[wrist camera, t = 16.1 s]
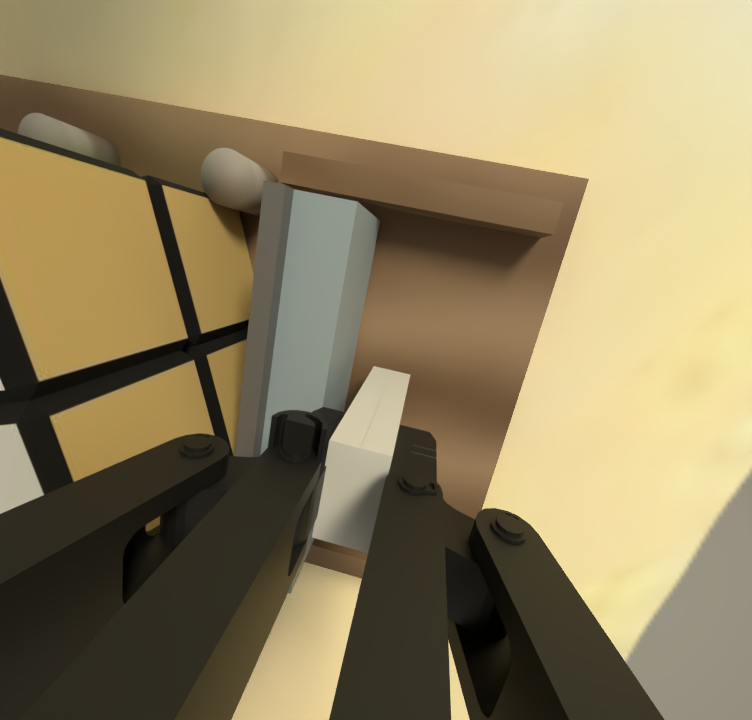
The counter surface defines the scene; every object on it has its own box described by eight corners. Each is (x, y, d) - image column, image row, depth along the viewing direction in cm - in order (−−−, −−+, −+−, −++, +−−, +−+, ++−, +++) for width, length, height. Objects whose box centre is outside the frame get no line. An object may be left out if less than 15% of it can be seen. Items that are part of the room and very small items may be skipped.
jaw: (320, 208, 14) (263, 180, 10) (380, 220, 14) (352, 197, 9) (277, 502, 18) (220, 588, 13) (324, 516, 18) (284, 607, 13)
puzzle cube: (108, 445, 19) (-221, 627, 9) (39, 243, 17) (-484, 212, 7) (292, 428, 17) (113, 633, 8) (241, 200, 15) (-101, 83, 5)
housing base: (22, 86, 16) (-112, 28, 12) (576, 186, 14) (632, 154, 10) (41, 445, 21) (-51, 487, 17) (456, 562, 19) (463, 642, 15)
